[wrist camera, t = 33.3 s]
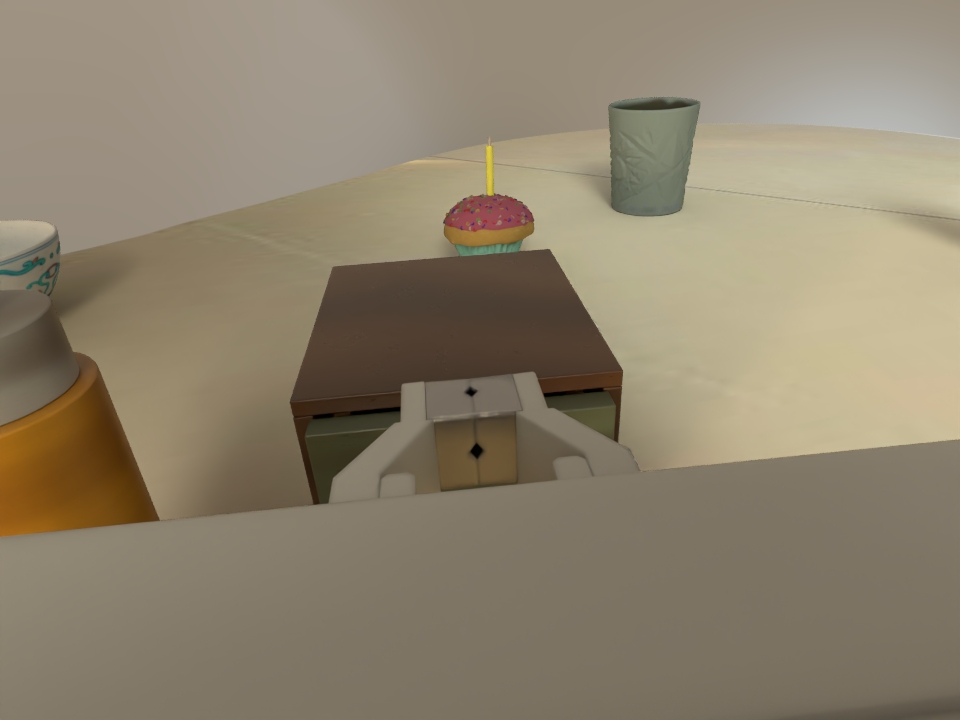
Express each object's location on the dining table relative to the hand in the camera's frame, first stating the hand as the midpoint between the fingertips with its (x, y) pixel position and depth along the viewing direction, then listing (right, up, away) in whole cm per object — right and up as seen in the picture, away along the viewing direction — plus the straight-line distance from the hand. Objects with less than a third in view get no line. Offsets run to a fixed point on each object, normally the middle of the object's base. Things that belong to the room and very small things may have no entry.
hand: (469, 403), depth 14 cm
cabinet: (-1, -4, +22) cm, 22 cm away
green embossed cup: (+21, +20, +63) cm, 69 cm away
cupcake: (+1, +10, +47) cm, 48 cm away
